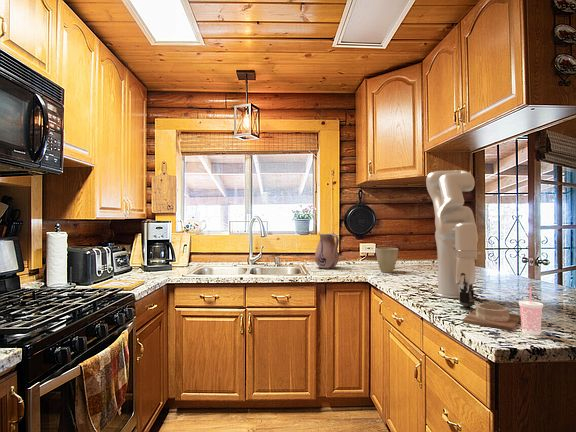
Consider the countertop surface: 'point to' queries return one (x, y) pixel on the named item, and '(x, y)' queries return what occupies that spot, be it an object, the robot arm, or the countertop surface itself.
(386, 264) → the plant pot
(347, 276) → the countertop surface
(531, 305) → the beverage cup
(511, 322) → the board
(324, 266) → the ceramic pitcher
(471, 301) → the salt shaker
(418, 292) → the countertop surface
